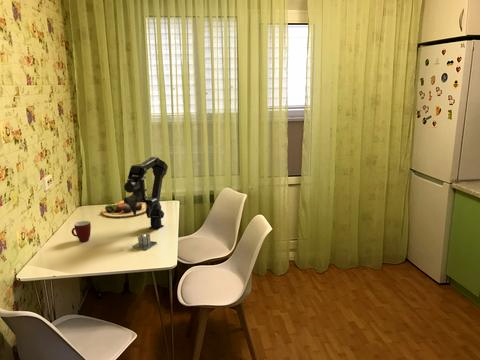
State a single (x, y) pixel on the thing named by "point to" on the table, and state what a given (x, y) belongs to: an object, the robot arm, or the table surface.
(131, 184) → the robot arm
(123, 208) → the wooden plate with food
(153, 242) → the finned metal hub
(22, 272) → the table surface
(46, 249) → the table surface
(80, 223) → the mug
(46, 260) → the table surface
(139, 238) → the hub ring
